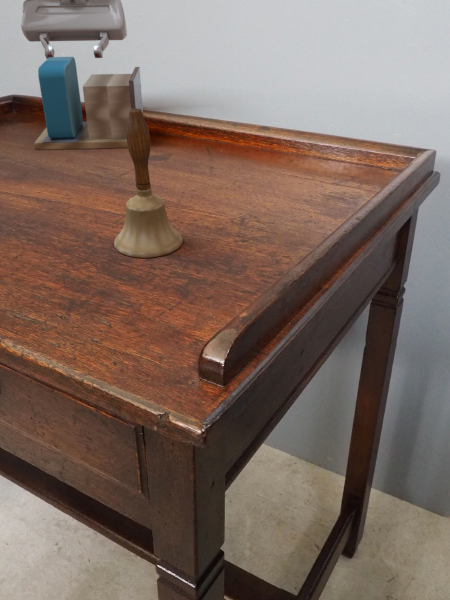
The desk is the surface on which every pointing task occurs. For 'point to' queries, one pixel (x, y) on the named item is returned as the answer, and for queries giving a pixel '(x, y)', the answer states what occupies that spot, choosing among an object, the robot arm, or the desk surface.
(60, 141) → the book rack
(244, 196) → the desk surface
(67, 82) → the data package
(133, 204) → the hand bell
